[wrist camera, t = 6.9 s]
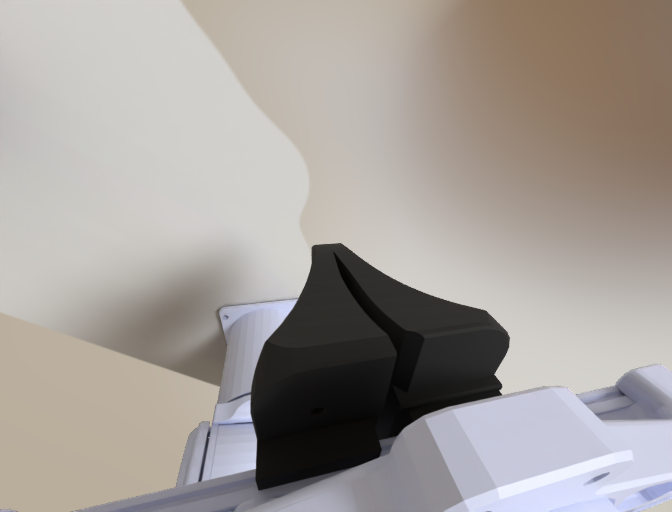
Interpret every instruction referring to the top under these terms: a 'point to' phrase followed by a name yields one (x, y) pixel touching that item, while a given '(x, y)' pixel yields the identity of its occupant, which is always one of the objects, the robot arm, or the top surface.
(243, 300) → the top surface
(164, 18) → the top surface
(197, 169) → the top surface
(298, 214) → the top surface
